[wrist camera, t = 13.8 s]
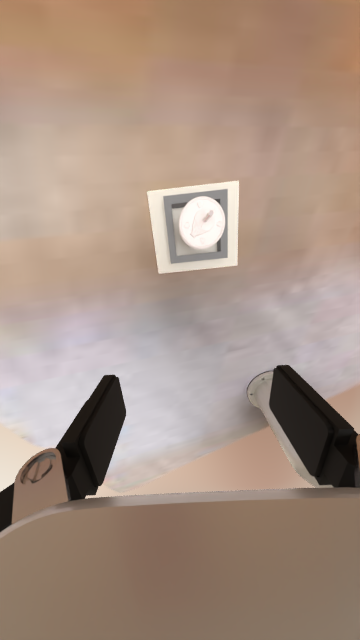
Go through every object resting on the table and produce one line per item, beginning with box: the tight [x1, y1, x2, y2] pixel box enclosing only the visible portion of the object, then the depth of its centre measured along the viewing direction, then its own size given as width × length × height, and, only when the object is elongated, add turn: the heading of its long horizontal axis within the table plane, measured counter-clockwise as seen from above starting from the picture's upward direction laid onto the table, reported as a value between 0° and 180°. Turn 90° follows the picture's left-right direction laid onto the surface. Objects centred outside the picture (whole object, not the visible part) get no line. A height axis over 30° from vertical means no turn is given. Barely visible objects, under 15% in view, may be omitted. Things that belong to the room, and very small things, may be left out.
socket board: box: [147, 181, 239, 274], centre depth 31 cm, size 16×14×4 cm
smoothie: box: [179, 196, 225, 249], centre depth 25 cm, size 6×6×14 cm
